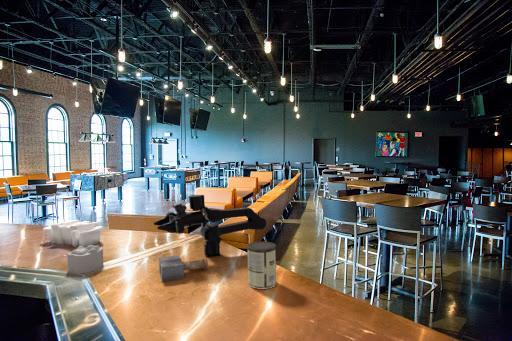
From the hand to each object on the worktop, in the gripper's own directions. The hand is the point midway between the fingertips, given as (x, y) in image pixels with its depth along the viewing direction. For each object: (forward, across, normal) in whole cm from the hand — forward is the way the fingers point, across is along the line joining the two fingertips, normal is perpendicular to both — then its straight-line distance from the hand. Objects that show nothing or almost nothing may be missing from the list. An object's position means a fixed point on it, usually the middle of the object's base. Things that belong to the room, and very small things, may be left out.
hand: (155, 225), depth 135 cm
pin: (-8, +17, +17) cm, 25 cm away
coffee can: (-28, +41, +19) cm, 53 cm away
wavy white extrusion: (+34, -54, +14) cm, 66 cm away
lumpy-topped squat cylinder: (+28, -7, +14) cm, 32 cm away
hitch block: (-1, +16, +16) cm, 23 cm away
